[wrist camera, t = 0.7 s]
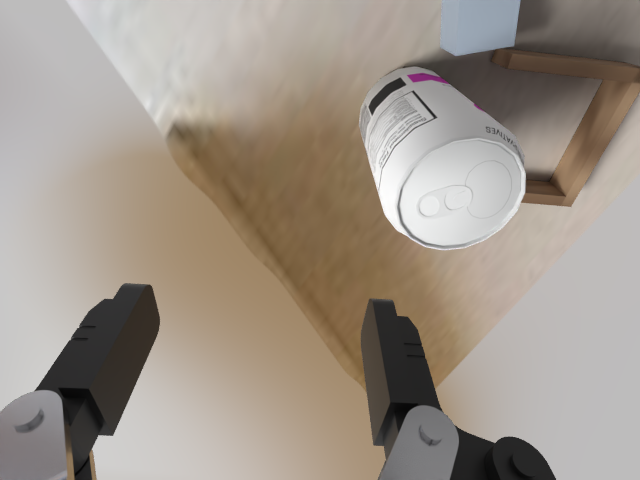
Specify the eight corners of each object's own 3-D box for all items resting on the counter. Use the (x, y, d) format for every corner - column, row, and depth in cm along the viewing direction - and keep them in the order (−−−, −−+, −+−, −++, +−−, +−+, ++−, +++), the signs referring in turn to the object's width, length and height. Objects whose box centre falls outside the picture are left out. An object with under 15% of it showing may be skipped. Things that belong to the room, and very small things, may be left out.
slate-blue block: (442, -13, 26) (459, -12, 23) (498, -24, 26) (524, -24, 23) (440, 47, 29) (456, 56, 25) (491, 38, 28) (514, 45, 25)
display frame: (495, 47, 29) (512, 53, 26) (624, 62, 29) (652, 70, 27) (449, 182, 36) (458, 197, 33) (553, 191, 36) (570, 206, 34)
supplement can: (446, 50, 29) (541, 102, 17) (455, 144, 33) (534, 239, 21) (348, 83, 30) (370, 153, 18) (370, 169, 35) (399, 271, 23)
